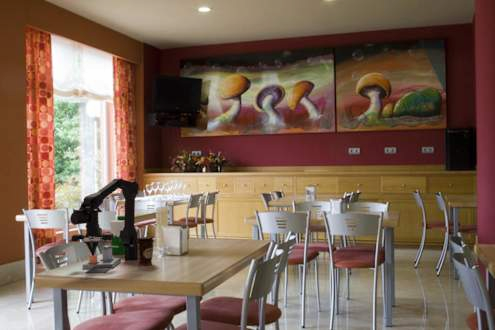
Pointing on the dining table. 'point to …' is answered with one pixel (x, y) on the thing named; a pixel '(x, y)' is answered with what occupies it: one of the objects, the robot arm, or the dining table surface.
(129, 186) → the robot arm
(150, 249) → the coffee cup
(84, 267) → the housing
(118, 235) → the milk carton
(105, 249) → the cartridge
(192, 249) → the dining table surface
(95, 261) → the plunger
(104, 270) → the mat
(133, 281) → the dining table surface
